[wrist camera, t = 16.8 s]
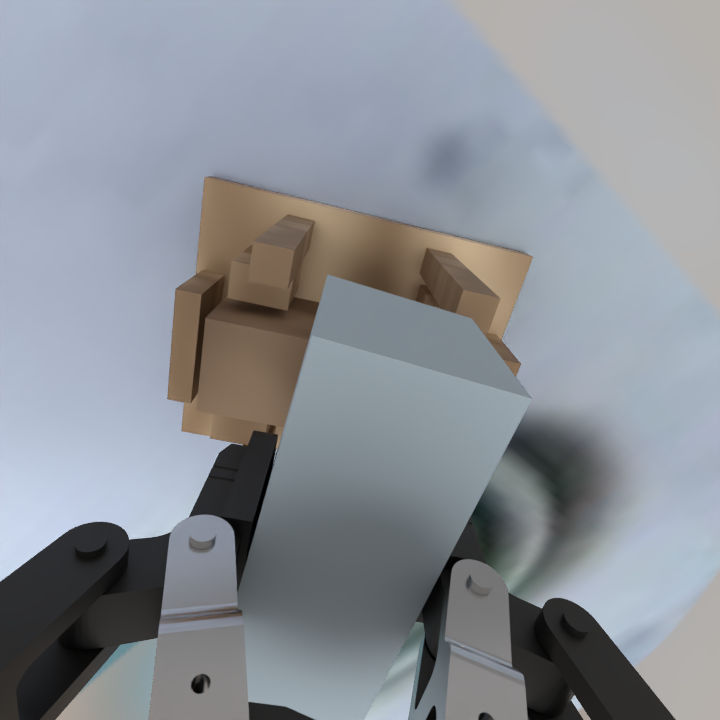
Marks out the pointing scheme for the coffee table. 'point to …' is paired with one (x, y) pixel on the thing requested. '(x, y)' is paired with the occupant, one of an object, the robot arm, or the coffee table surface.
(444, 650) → the robot arm
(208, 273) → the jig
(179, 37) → the coffee table surface
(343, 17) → the coffee table surface
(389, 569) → the gray rectangular block
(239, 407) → the tan wooden beam
